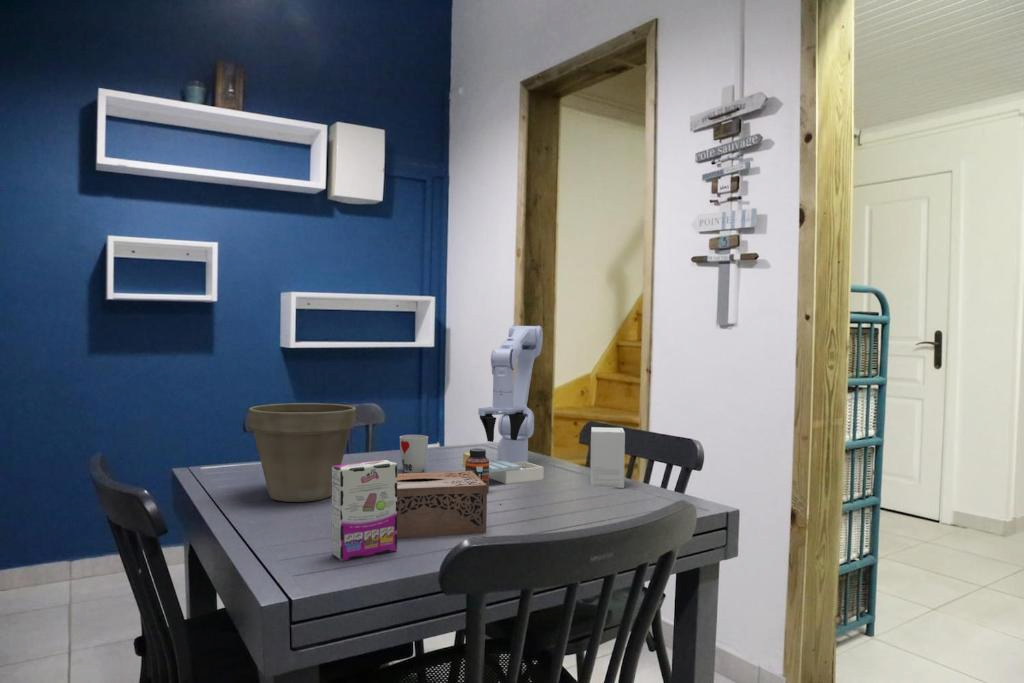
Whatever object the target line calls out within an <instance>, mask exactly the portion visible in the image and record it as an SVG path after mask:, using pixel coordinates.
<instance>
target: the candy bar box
mask: <svg viewBox="0 0 1024 683" xmlns="http://www.w3.org/2000/svg"><path fill="white" fill-rule="evenodd" d="M397 474H398V463H397V462H394V461H392V460H389V459H381V460H380V459H379V460H371V461H363V462H356V463H355V462H353V463H346V464H341V465H336V466H332V495H331V554H332V556H333V557H335V558H337V559H338V560H339V561H342V562H344V561H349V560H355V559H360V558H365V557H370V556H375V555H381V554H386V553H390V552H396V551H397V550H398V538H397Z"/></svg>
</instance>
